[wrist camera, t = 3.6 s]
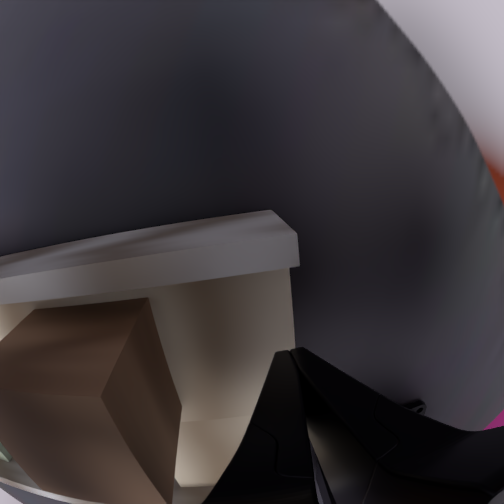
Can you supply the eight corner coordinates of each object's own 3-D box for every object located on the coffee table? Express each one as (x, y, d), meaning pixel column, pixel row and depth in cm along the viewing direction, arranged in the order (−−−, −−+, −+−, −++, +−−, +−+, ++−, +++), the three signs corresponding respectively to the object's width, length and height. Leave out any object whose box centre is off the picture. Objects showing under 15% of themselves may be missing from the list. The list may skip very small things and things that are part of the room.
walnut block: (148, 297, 9) (100, 396, 5) (182, 406, 10) (171, 509, 6) (34, 309, 9) (-39, 382, 4) (78, 407, 10) (42, 490, 6)
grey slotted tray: (271, 209, 11) (297, 233, 7) (292, 447, 15) (307, 503, 11) (-85, 277, 10) (-123, 300, 6) (-6, 437, 14) (-26, 470, 10)
